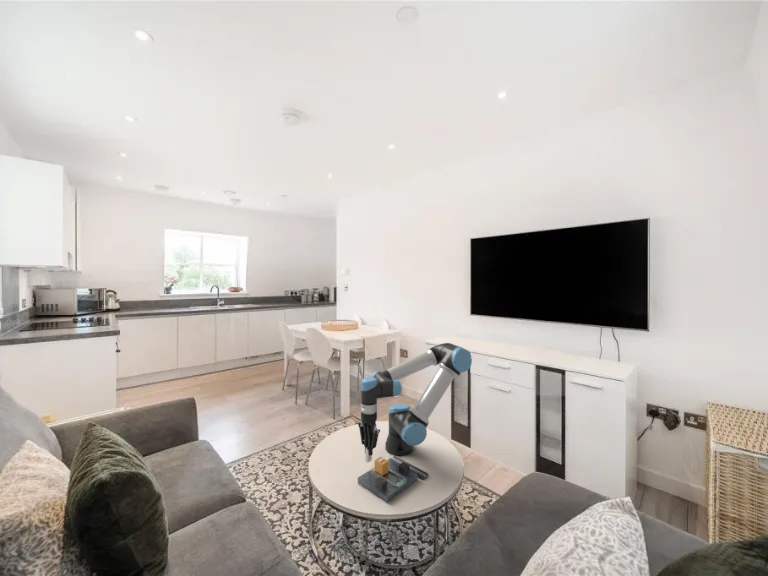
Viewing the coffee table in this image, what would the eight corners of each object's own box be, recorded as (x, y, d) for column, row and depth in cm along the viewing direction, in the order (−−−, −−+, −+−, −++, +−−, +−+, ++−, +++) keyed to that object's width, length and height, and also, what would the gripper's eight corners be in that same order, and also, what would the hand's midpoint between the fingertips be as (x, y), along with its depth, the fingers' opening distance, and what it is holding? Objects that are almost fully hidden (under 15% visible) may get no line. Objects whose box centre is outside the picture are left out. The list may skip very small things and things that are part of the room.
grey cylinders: (394, 457, 161) (394, 455, 161) (429, 476, 146) (429, 473, 146) (388, 461, 157) (388, 458, 157) (423, 480, 142) (423, 477, 142)
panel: (388, 464, 155) (388, 453, 155) (417, 480, 142) (417, 468, 142) (357, 483, 140) (357, 470, 140) (387, 503, 128) (387, 489, 128)
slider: (380, 467, 147) (380, 455, 147) (388, 471, 144) (388, 459, 144) (374, 471, 144) (374, 458, 144) (382, 475, 141) (382, 463, 141)
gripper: (353, 409, 151) (353, 458, 152) (372, 418, 142) (372, 470, 143) (365, 405, 157) (365, 452, 157) (384, 413, 147) (384, 463, 148)
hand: (368, 460), depth 150 cm, fingers closed
